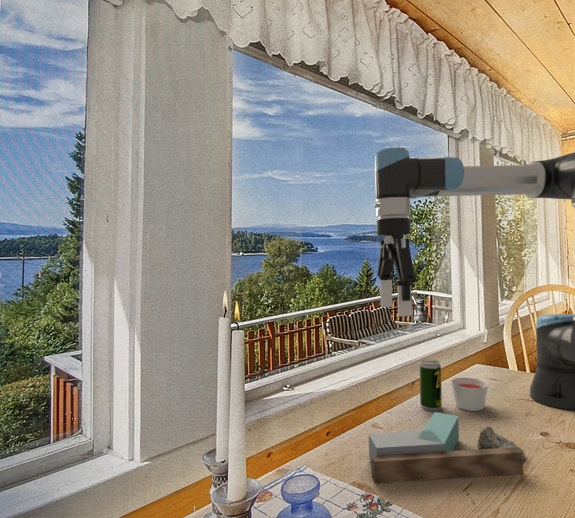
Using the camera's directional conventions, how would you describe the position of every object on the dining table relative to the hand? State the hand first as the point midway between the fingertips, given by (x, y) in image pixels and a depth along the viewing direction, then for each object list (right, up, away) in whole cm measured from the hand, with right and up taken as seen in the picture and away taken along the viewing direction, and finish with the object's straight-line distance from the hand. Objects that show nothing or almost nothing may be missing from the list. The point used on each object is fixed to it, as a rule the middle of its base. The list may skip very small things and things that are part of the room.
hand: (395, 311), depth 98 cm
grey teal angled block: (+2, -28, -9) cm, 30 cm away
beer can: (+13, -27, +15) cm, 34 cm away
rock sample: (+19, -28, -11) cm, 36 cm away
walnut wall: (+5, -29, -18) cm, 34 cm away
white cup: (+23, -27, +15) cm, 39 cm away
